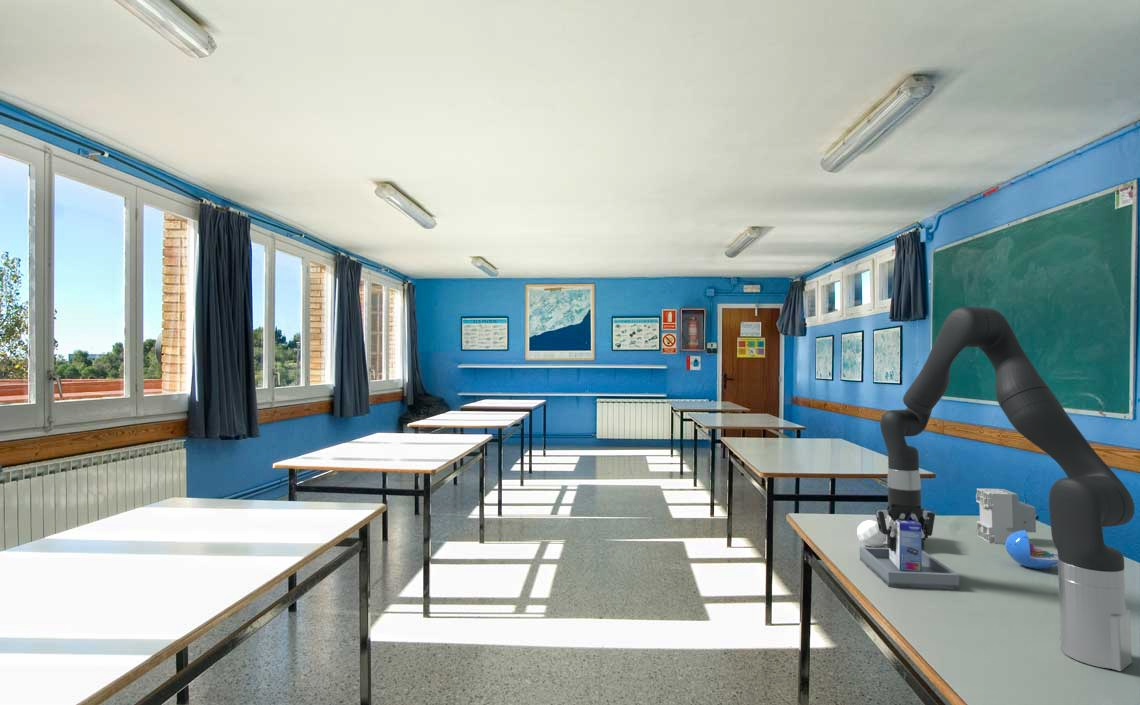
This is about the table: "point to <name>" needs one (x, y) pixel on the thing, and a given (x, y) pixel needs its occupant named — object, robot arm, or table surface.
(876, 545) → the ball
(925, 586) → the parts tray
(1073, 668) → the table surface
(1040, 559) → the cell model
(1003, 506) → the circuit breaker
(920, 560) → the ink cartridge box
